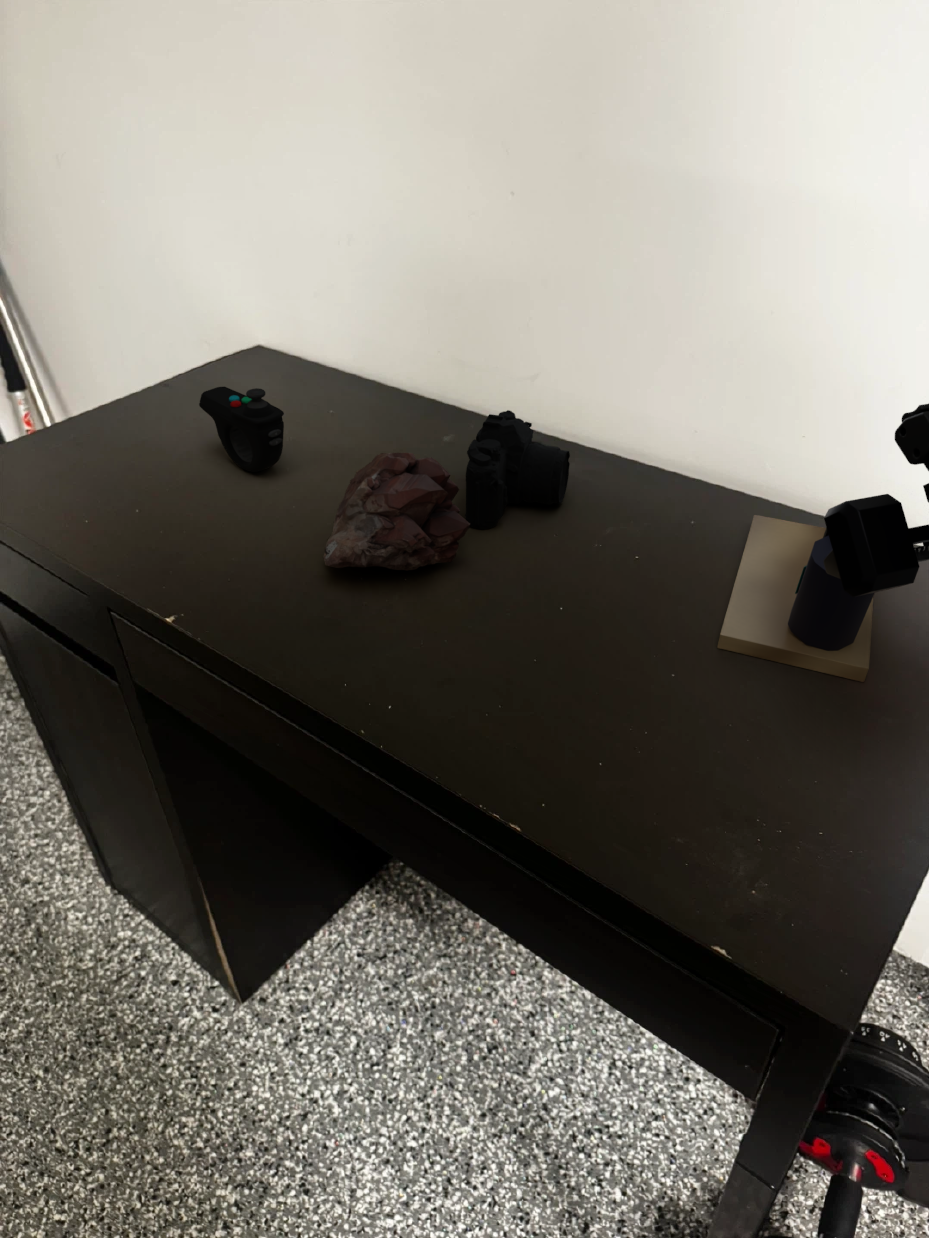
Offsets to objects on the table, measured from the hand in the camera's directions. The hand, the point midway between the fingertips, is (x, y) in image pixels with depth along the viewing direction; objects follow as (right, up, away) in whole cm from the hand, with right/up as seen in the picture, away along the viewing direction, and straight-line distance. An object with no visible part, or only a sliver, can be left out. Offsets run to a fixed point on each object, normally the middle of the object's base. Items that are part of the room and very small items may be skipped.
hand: (876, 556), depth 69 cm
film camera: (-26, +8, +29) cm, 40 cm away
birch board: (0, -3, +14) cm, 15 cm away
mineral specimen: (-39, +1, +19) cm, 43 cm away
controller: (-57, +13, +35) cm, 69 cm away
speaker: (-1, -6, +7) cm, 10 cm away
